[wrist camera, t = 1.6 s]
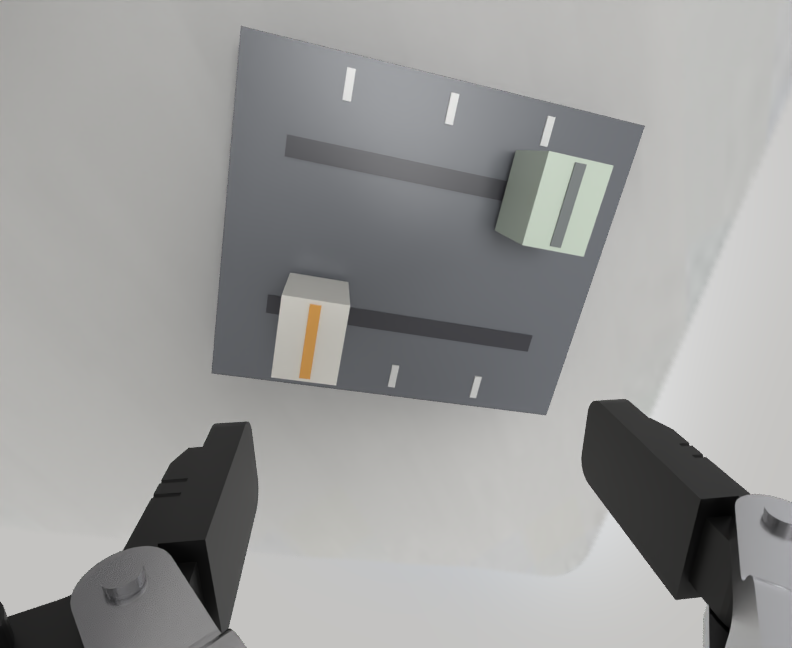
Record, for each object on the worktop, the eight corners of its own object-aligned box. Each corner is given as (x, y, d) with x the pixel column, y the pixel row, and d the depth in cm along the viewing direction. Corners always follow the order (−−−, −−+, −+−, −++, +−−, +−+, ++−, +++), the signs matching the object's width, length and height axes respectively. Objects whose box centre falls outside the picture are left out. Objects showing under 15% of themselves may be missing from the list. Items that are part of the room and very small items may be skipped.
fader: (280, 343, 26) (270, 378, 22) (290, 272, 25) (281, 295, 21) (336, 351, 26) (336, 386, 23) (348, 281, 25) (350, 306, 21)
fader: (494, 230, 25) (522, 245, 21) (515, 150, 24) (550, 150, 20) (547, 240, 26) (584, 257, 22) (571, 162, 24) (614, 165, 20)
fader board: (223, 351, 29) (211, 373, 26) (252, 40, 24) (240, 25, 21) (528, 392, 33) (546, 416, 30) (613, 128, 27) (646, 125, 24)
